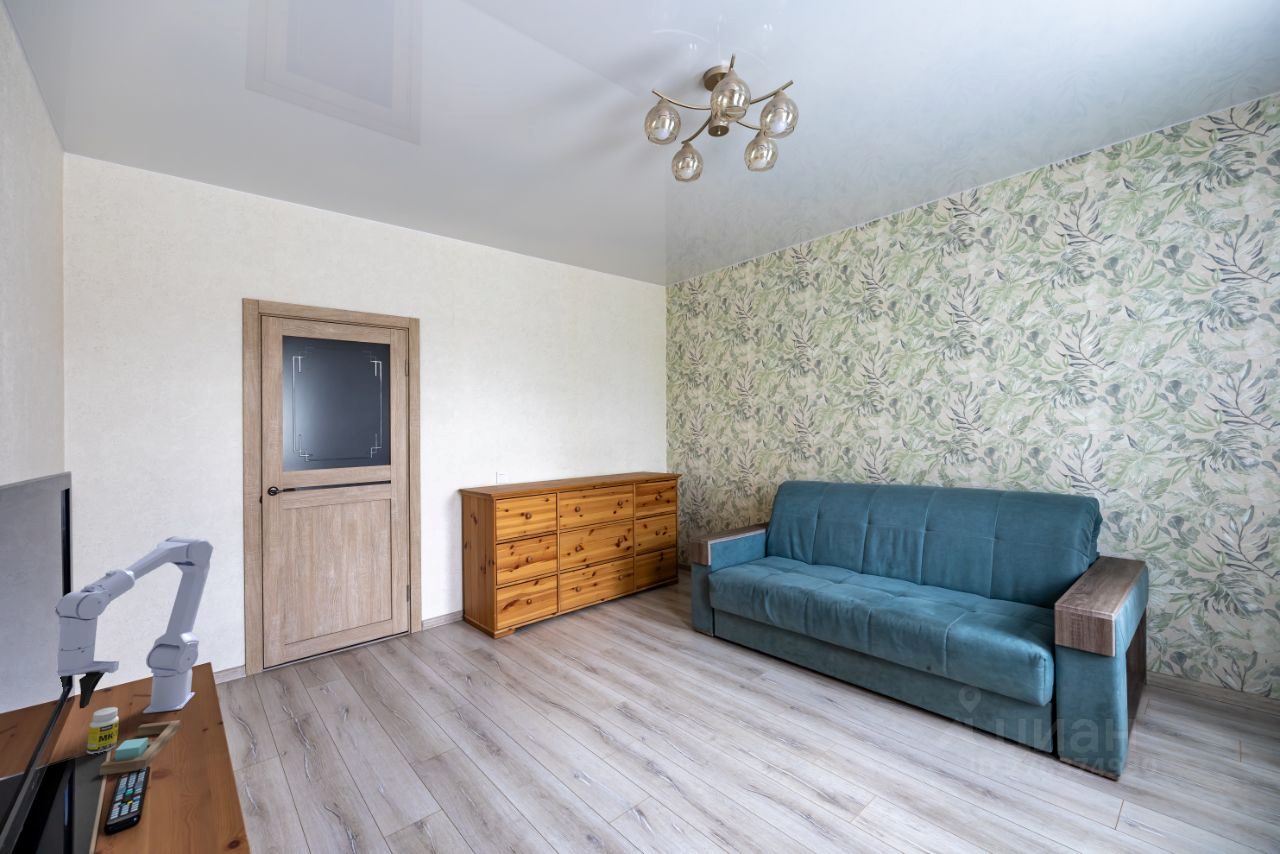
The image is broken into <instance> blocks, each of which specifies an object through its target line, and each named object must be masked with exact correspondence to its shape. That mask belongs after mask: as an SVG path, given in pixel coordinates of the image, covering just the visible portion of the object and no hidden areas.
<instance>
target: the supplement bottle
mask: <svg viewBox="0 0 1280 854" xmlns="http://www.w3.org/2000/svg"><path fill="white" fill-rule="evenodd" d="M118 710H119V709H118V707H116V706H112V707H104V708H100V709H98V710H96V711H94V712H93V714H92V721H91V722H90V723H89V727H88V728H89V729H88V736H87V747H86V753H87V754H88V755H89V754H90V755H95V754H94V753H98V754H100V753H99V752H103V751H106V752H108V751H110V750H112V749H113V748H115V747H116V746H117V741H118V740H117V739H118V729H119V723H120V722H119V721H120V717H119V716H118V714H119V712H118ZM103 753H104V752H103Z"/></svg>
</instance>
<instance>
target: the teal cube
mask: <svg viewBox="0 0 1280 854" xmlns="http://www.w3.org/2000/svg"><path fill="white" fill-rule="evenodd" d="M148 742H149V737H144V738H133V739H128V740H124V741H123V742H122V743H121V744H120V745H119V746H118V747H117V748H116V749H115V750H114V752H115V754H114V760H121V759H128V758H136V757H141V756H142V755H143V753H144V752H145V751H146V750H147V746H148Z"/></svg>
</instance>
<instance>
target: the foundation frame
mask: <svg viewBox="0 0 1280 854" xmlns="http://www.w3.org/2000/svg"><path fill="white" fill-rule="evenodd" d="M180 726H181V720H180V719H179V720H169V721H160V722H153V723H144V724H140V725H139V726H138V727H137V736H136V737H142V736H151V735H159V736H158V737H156V739H155V740H154V741H148V746H147V750H146V751H145V752H144V753H143V755H142V756H141V757H136V758H128V759H121V760H115V759H114V760H113V759H112V760H107V761H104V762H103V763H101V765H100V767H99V773H98V774H99V775H98V776H104V775H113V774H118V773H119V774H121V773H126V772H133V771H134V772H135V771H140V770H139V769H142V770H144V769H143V768H145V769H147V767H148V766H149V765H150V764H151V763H152V762H153V760H154V759H155V758H156V757H157V756H158V755H159V753H160V752H161V751H162V750H163V749H164V747H166V745H167V744H168V743H169V741H170V740H171V739H172V738H173V737H174V735H175V734H176V733H177V732H178V731H179V730H180V729H181V727H180Z"/></svg>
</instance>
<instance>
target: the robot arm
mask: <svg viewBox="0 0 1280 854" xmlns="http://www.w3.org/2000/svg"><path fill="white" fill-rule="evenodd" d="M213 550H214V546H213V545H212V544H211V542H210V541H209V540H208V539H206V538H201V537H200V538H194V537H192V538H191V537H180V536H176V535H174V536H169V537H167V538H165V539H164V540H163V541H161V542H159V543H158V544H157V545H156V548H155V549H153V550H152V551H150V552H149V553H148V554H146V555H144V556H143V557H141V558H140V559H138V560H137V561H135V562H134V563H132V564H131V565H129V566H128V567H126V568H125V569H114V570H109V571H107V572H105V575H104V576H102V577H100V578H99V579H97V580H96V581H94V582H92V583H90V584H87V585H85V586H84V587H83V588H81V590H80V591H79V590H78V591H71V592H69V593H67V594H65V595H64V596H63V597H61V598H60V599H59V601H58V602H57V604H56V606H54V607H55V608H56V610H55V612H54V614H55V615H56V617H58V619H59V620H58V621H59V622H58V625H60V630H59V639H58V640H59V641H58V649H57V659H58V671H57V673H58V675H59V676H61V677H60V679H61V682H62V687H63V705H62V708H63V706H64V704H65V703H64V702H65V691H66V685H67V682H68V678H69V676H77V675H83V676H82V677H81V678H79V679H78V682H79V689H80V696H79V697H80V698H79V705H78V707H79V709H84V708H86V707H87V706H89V705H90V700H91V699H92V696H93V694H94V691H95V689H96V688H97V686H98V684H99V682H100V681H101V679H102V678H103V676H104V675H105V674H106V673H108V674H114V673H115V672H117V671H118V670H119V667H120V661H119V660H115V661H113V660H111V661H110V660H109V661H106V660H95V651H96V640H97V639H96V638H97V629H98V628H97V627H98V619H99V617H100V616H101V615H102V614H103V613H104V611H105V610H106V609H107V606H109V605H110V604H111V602H113V601H114V600H115V599H117V598H119V597H120V596H121V595H123V594H125V593H126V592H128V591H129V590H131V589H133V588H134V586H135V583H136V581H137V580H138V579H140V578H142V577H143V576H145V575H147V574H150V573H151V572H152V571H154V570H157V569H159V568H160V567H162V566H163V565H165V564H168V563H171V564H172V565H175V566H176V567H177V568H178V569H179V570H180V572H182V575H181V579H180V581H179V585H178V588H177V589H178V590H177V592H176V596H175V599H174V603H173V605H172V610H171V613H170V617H169V620H168V623H167V627H166V631H165V633H164V634H163V635H161V636H159V637H157V638H156V639H155V641H154V643H153V645H152V648H151V649H150V650H149V652H148V654H147V656H146V658H145V659H146V660H145V664H146V666H147V668H149V669H151V670H150V673H151V674H152V684H151V694H150V695H151V697H150V704H149V705H148V706H147V707H145V709H144V710H143V711H142V714H152V713H161V712H162V713H163V712H169V711H177V710H182V709H183V707H185V706H186V705H187V703H188V702H189V701H190V700H191V699H192V698H193V697H194V696H195V694H196V692H194V691H193V692H191V691H192V681H193V680H192V679H193V670H192V667H193V666H194V665H195V664H196V662H197V660H198V657H199V644H200V640H199V639H198V638H197V637H196V636H195V635H194V634H193V629H194V625H195V622H196V619H197V615H198V611H199V608H200V605H201V600H202V597H203V593H204V591H205V590H204V589H205V585H206V582H207V579H208V574H209V570H210V569H211V568H210V567H211V558H212V555H213Z"/></svg>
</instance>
